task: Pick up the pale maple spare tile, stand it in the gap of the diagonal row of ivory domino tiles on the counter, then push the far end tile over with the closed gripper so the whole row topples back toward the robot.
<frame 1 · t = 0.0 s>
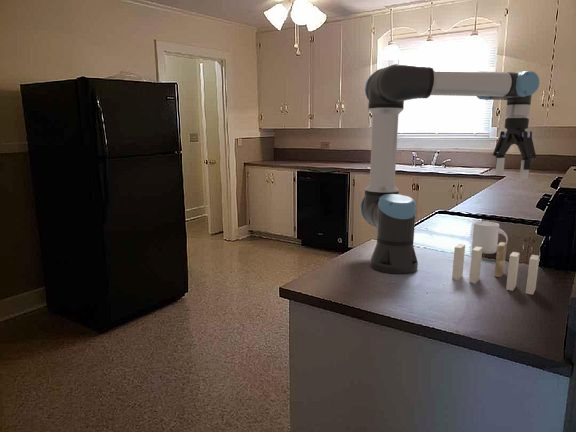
hand: (510, 177, 159), 28 cm above the worktop, fingers open, 13 cm apart
tile c: (511, 287, 125), on the worktop
tile a: (457, 277, 134), on the worktop
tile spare: (499, 274, 137), on the worktop
mug: (488, 252, 163), on the worktop
tile d: (530, 291, 122), on the worktop
tile b: (474, 280, 131), on the worktop
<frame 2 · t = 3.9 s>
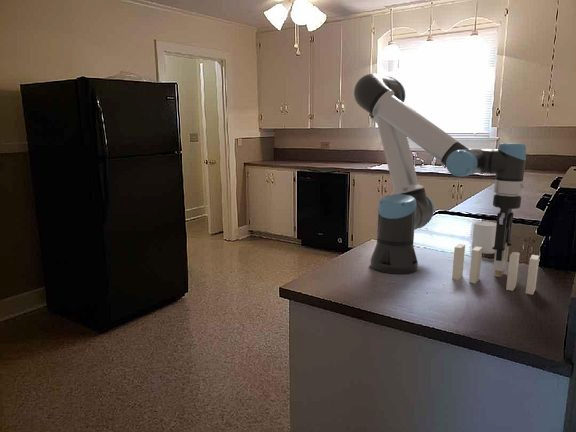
hand: (499, 267, 136), 2 cm above the worktop, fingers closed on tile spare, 5 cm apart
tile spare: (499, 274, 137), on the worktop, touching gripper
everything else where it was.
when the fingers open (3 cm above the worktop, at t = 7.3 s): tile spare stays where it is, on the worktop.
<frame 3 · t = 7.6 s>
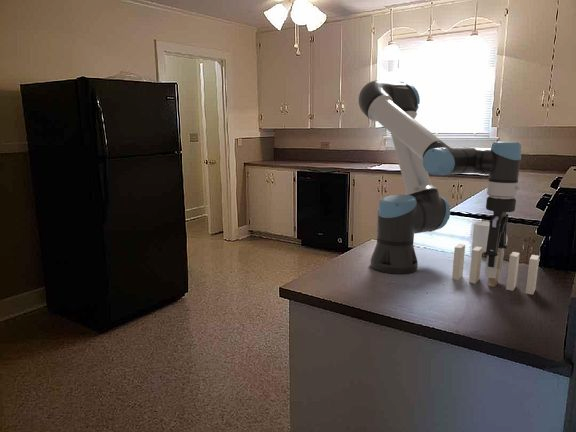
hand: (493, 273, 127), 3 cm above the worktop, fingers open, 8 cm apart
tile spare: (492, 284, 128), on the worktop
everything else where it was.
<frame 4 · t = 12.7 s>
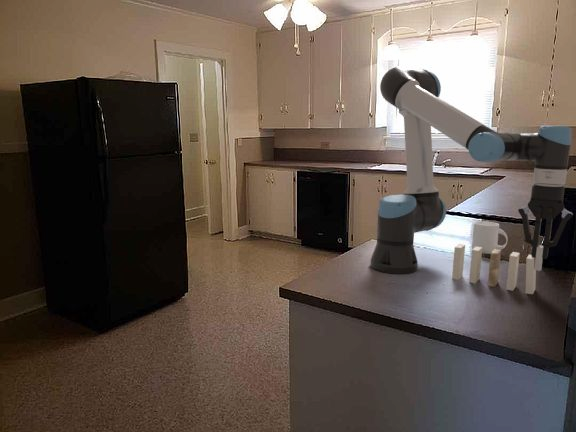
hand: (537, 269, 121), 7 cm above the worktop, fingers closed
tile d: (530, 291, 122), on the worktop, touching gripper
everything else where it was.
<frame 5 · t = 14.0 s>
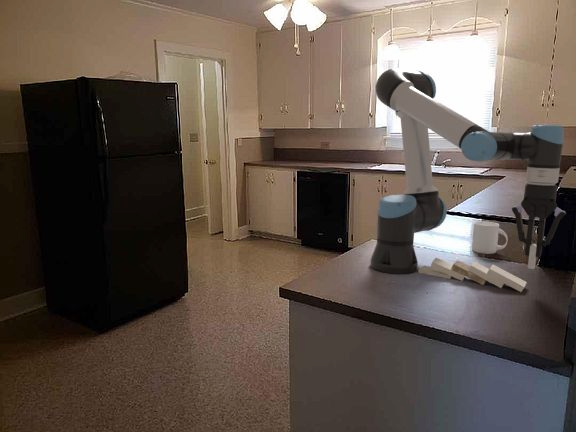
hand: (531, 267, 121), 7 cm above the worktop, fingers closed
tile c: (504, 283, 126), point 1 cm above the worktop, tilted 69°, touching tile d, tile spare
tile a: (452, 276, 134), on the worktop, tilted 90°, touching tile b
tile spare: (486, 280, 129), point 1 cm above the worktop, tilted 71°, touching tile c
tile d: (524, 287, 123), point 1 cm above the worktop, tilted 69°, touching tile c
tile b: (464, 275, 132), point 1 cm above the worktop, tilted 74°, touching tile a
everything else where it was.
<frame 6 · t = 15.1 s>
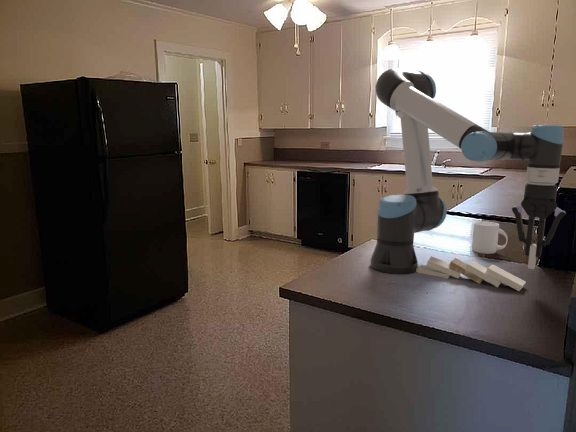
hand: (531, 267, 121), 7 cm above the worktop, fingers closed
tile c: (501, 282, 127), point 1 cm above the worktop, tilted 69°, touching tile d, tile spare
tile a: (450, 275, 135), on the worktop, tilted 90°
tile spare: (483, 279, 130), point 1 cm above the worktop, tilted 69°, touching tile b, tile c
tile b: (460, 273, 133), point 1 cm above the worktop, tilted 75°, touching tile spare
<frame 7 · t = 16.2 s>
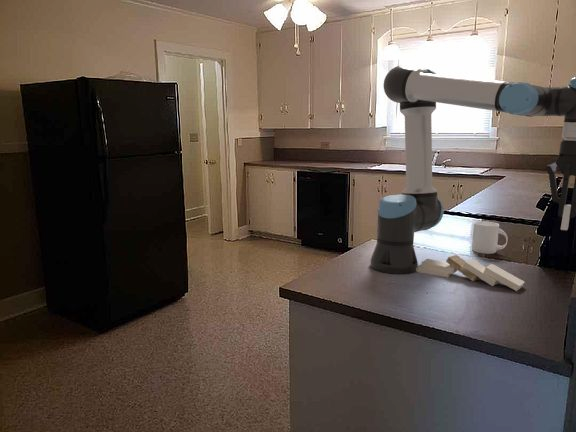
hand: (564, 229, 117), 19 cm above the worktop, fingers closed
tile c: (497, 282, 127), point 1 cm above the worktop, tilted 68°, touching tile d
tile a: (450, 274, 136), on the worktop, tilted 90°, touching tile b
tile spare: (478, 277, 131), point 1 cm above the worktop, tilted 67°, touching tile b
tile b: (455, 269, 135), point 2 cm above the worktop, tilted 90°, touching tile a, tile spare
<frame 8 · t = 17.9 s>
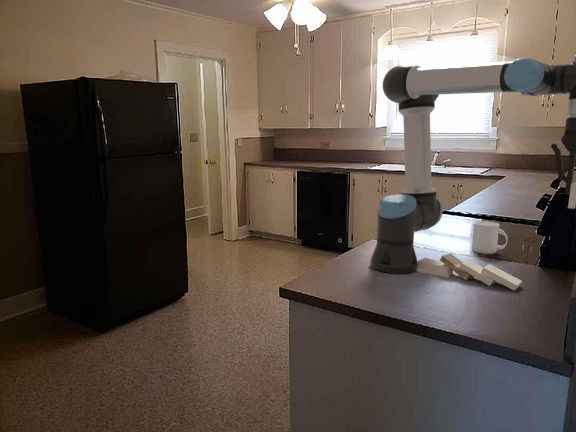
hand: (571, 207, 116), 24 cm above the worktop, fingers closed
tile c: (494, 281, 128), point 1 cm above the worktop, tilted 70°, touching tile d, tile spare
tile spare: (471, 276, 132), point 1 cm above the worktop, tilted 66°, touching tile b, tile c
tile b: (450, 268, 136), point 2 cm above the worktop, tilted 90°, touching arm, tile a, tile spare
at the end: tile a tilted 90°; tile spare tilted 66° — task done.
